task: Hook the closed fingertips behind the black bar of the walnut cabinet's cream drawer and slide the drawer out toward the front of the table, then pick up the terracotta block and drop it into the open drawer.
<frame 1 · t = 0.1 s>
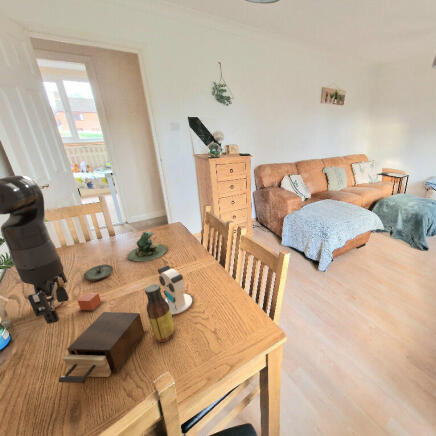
hand: (59, 310, 64), 18 cm above the table, tool pointing down, fingers open, 8 cm apart
frog figurine: (148, 252, 128), on the table
drawer: (97, 354, 68), point 4 cm above the table, slide at 1.0 cm
lid: (99, 275, 108), on the table
cabinet: (113, 349, 74), on the table
panda figurine: (176, 303, 94), on the table
sauce bottle: (164, 335, 80), on the table
trinket box: (51, 304, 91), on the table
block: (91, 306, 91), on the table
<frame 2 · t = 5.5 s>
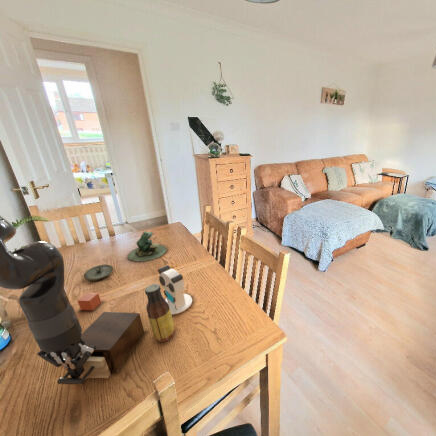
hand: (78, 374, 62), 5 cm above the table, tool pointing down, fingers closed
drawer: (96, 355, 68), point 4 cm above the table, slide at 1.4 cm, touching gripper
everything else where it was.
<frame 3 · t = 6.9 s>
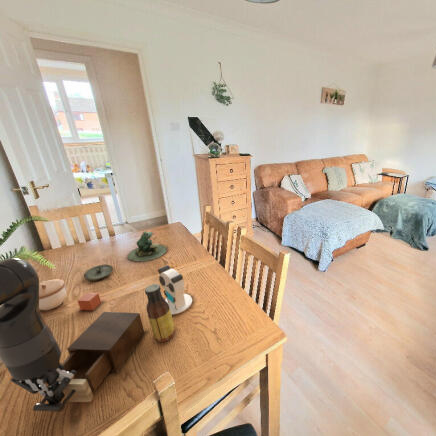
hand: (57, 401, 56), 5 cm above the table, tool pointing down, fingers closed
drawer: (78, 376, 62), point 4 cm above the table, slide at 7.4 cm, touching gripper
everything else where it was.
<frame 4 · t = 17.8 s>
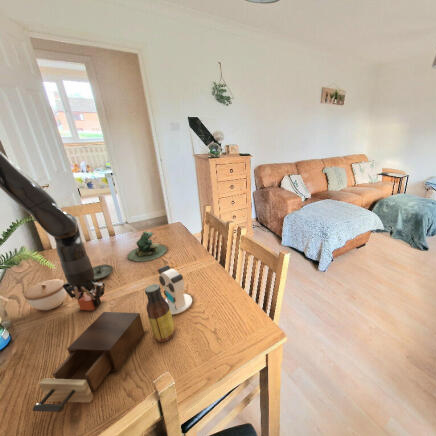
hand: (90, 305, 91), 0 cm above the table, tool pointing down, fingers closed on block, 4 cm apart
drawer: (78, 376, 62), point 4 cm above the table, slide at 7.4 cm
block: (91, 306, 91), on the table, touching gripper
everything else where it was.
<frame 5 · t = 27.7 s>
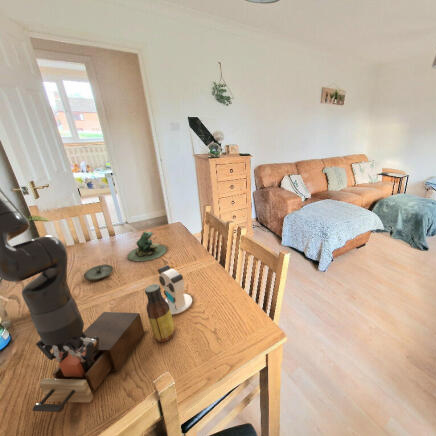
hand: (79, 367, 62), 6 cm above the table, tool pointing down, fingers closed on block, 4 cm apart
block: (80, 368, 62), point 6 cm above the table, touching gripper
everything else where it was.
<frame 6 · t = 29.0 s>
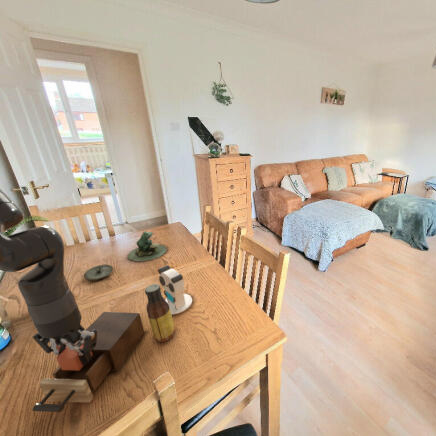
hand: (77, 361, 61), 9 cm above the table, tool pointing down, fingers closed on block, 4 cm apart
block: (77, 362, 62), point 8 cm above the table, touching gripper
everything else where it was.
when the fingers open (9 cm above the table, at t = 40.0 s): block drops 7 cm, resting on drawer.
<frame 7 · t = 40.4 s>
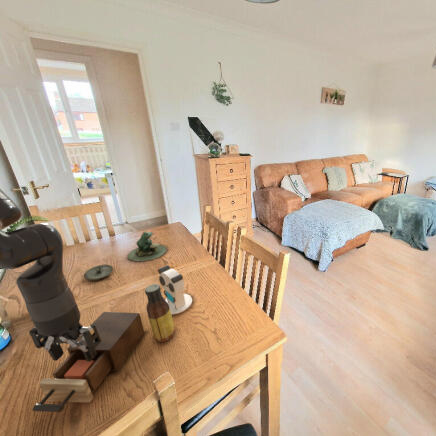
hand: (75, 357, 61), 10 cm above the table, tool pointing down, fingers open, 8 cm apart
drawer: (78, 377, 62), point 4 cm above the table, slide at 7.4 cm, touching block
block: (84, 378, 64), point 2 cm above the table, touching drawer
everything else where it was.
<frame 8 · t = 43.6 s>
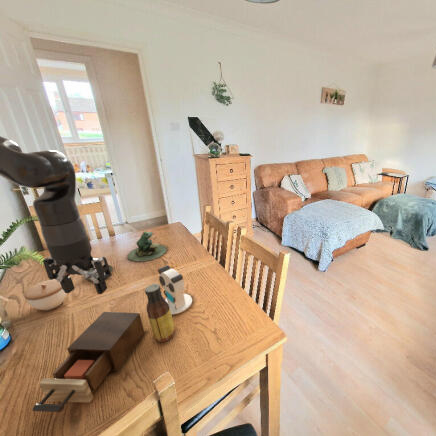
hand: (86, 291, 63), 24 cm above the table, tool pointing down, fingers open, 8 cm apart
nothing on the table moved.
at the end: drawer slide at 7.4 cm; block inside the target area in the drawer (0.4 cm from its centre), point 2.0 cm above the cabinet's base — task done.
